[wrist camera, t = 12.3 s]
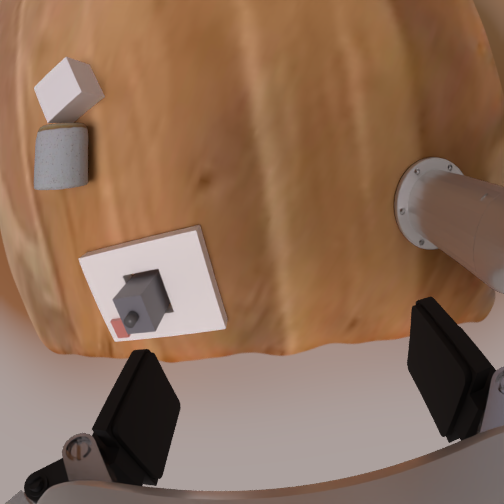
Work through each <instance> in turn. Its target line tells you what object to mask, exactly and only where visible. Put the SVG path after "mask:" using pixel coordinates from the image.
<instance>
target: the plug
mask: <svg viewBox="0 0 504 504" xmlns="http://www.w3.org/2000/svg"><path fill="white" fill-rule="evenodd" d="M112 300H113V302H114V304H115V307H116V309H117V311H118V314H119V316H120V318H121V320H122V323H123V325H124V327H125V329H126V331H127V334H135V333H146V332H156V330H157V328H158V326H159V324H160V322H161V320H162V318H163V316H164V314H165V312H166V310H167V308H168V306H169V304H170V303H171V302H170V300H169V297H168V294H167V292H166V289H165V286H164V283H163V281H162V278H161V275H160V272H159V269H154V270H149V271H144V272H139V273H135V274H134V275H133V276H132V277H131V278H130V279H129V281H128V282H127V283H126V284H125V285H124V286H123V288H122V289H121V290H120V291H119V292H118V293H117V295H116V296H115V297H114V298H113V299H112Z"/></svg>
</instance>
